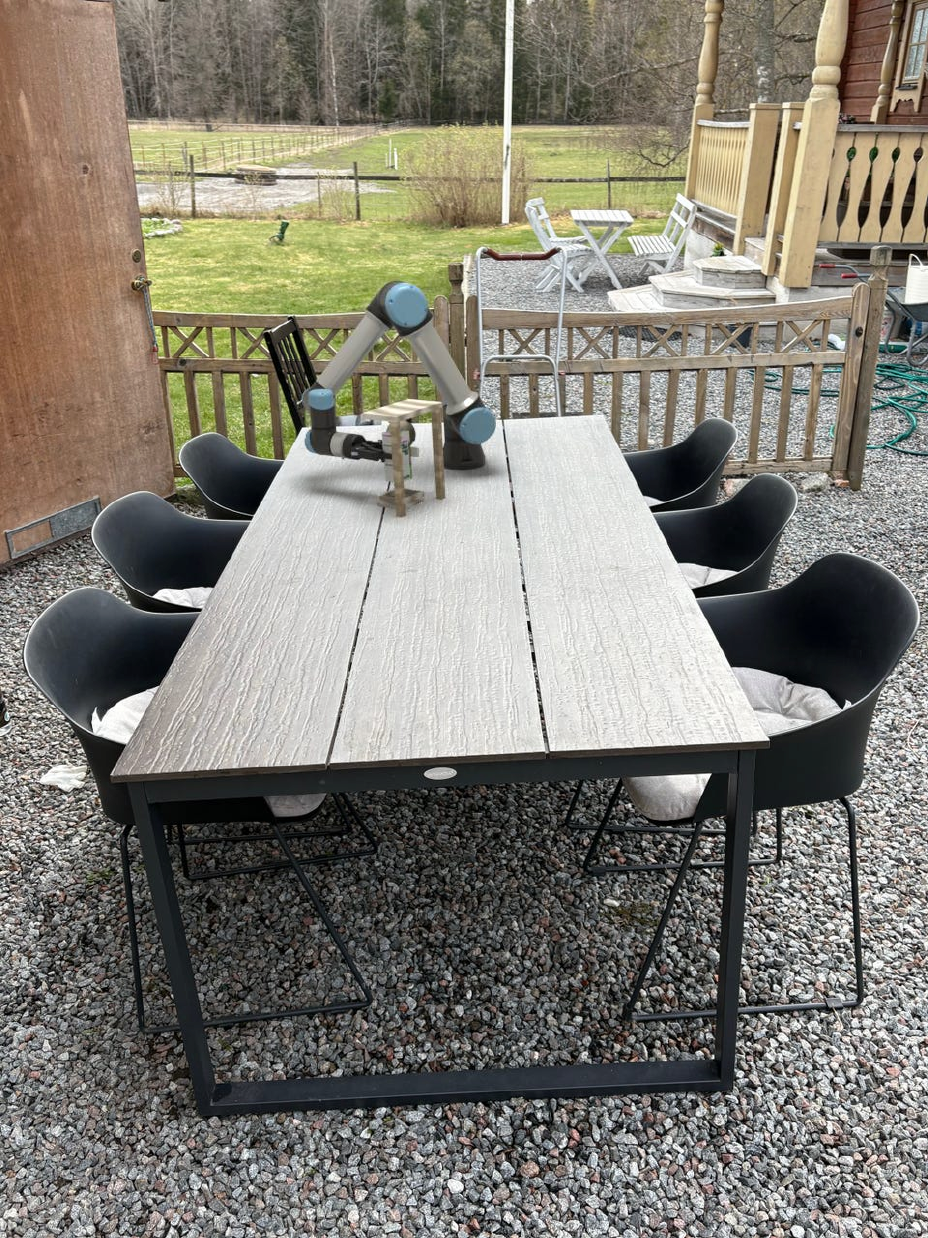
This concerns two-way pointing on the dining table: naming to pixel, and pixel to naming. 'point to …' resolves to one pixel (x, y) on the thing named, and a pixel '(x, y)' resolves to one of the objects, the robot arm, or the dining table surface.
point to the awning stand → (394, 414)
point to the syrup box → (405, 448)
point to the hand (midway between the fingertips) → (411, 454)
